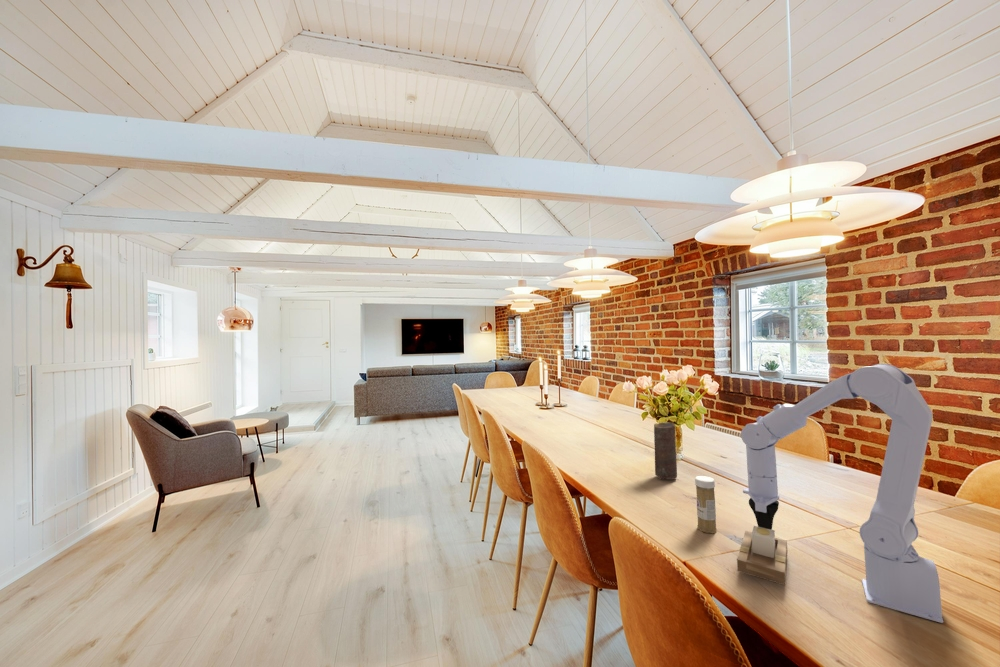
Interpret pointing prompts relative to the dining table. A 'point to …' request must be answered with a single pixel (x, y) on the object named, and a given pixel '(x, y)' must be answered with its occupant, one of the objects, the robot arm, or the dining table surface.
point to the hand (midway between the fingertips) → (765, 532)
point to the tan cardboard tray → (763, 560)
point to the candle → (665, 450)
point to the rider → (763, 541)
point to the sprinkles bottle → (706, 504)
